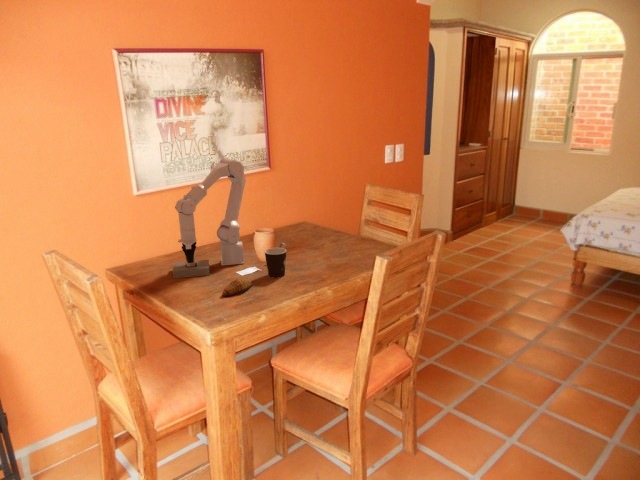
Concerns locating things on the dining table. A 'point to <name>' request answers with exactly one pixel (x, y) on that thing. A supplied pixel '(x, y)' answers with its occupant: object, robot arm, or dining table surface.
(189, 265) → the peg
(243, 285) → the croissant
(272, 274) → the coffee mug
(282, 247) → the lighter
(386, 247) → the dining table surface
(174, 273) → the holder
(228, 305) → the dining table surface
